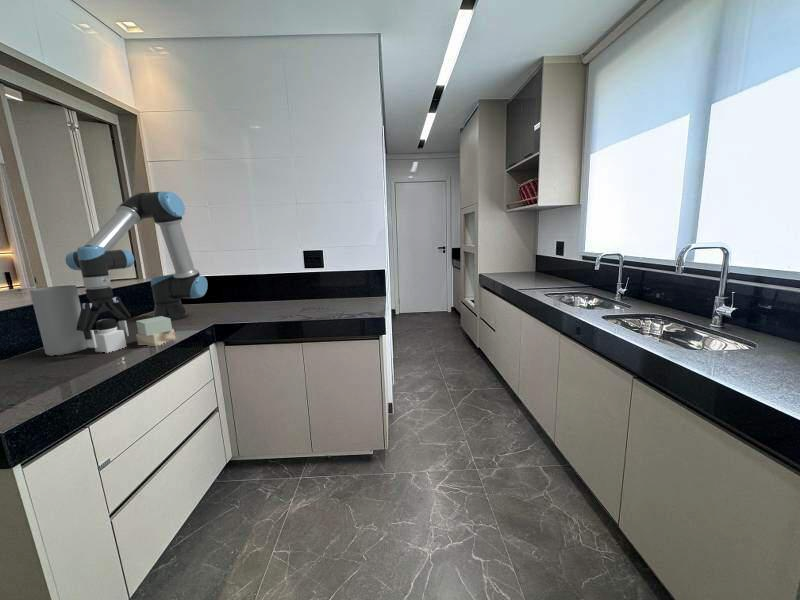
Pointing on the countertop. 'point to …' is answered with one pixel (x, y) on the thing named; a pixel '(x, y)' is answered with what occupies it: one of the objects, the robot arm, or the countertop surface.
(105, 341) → the medicine bottle
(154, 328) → the upper block
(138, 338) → the lower block
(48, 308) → the cylinder vase
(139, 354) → the countertop surface
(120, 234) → the robot arm
